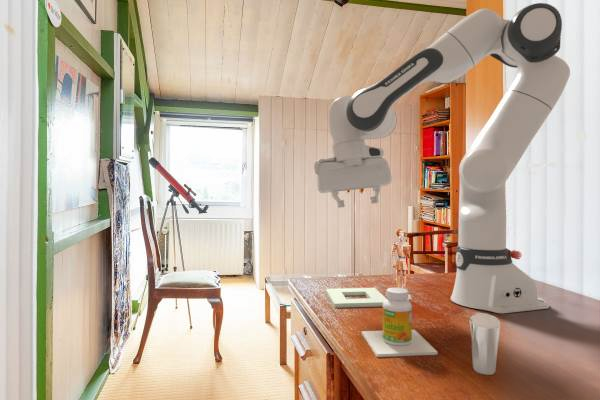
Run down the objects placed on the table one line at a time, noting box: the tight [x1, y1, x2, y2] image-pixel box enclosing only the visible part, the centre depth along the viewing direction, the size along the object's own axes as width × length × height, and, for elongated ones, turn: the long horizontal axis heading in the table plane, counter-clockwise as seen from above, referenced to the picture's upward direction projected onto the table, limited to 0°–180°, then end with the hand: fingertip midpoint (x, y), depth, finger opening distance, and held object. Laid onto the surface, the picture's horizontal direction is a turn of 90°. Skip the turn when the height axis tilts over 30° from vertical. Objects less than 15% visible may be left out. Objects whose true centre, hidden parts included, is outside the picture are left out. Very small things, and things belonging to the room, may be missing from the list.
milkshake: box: [466, 309, 501, 376], centre depth 65 cm, size 4×5×10 cm
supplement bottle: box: [382, 287, 413, 346], centre depth 76 cm, size 5×5×10 cm
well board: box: [325, 287, 388, 309], centre depth 106 cm, size 14×14×1 cm
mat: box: [361, 329, 438, 358], centre depth 76 cm, size 11×11×1 cm
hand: (358, 205), depth 108 cm, fingers open, 8 cm apart
